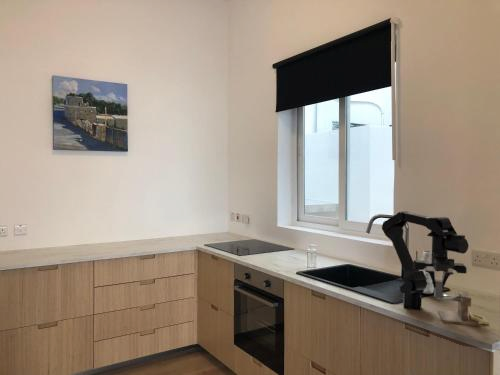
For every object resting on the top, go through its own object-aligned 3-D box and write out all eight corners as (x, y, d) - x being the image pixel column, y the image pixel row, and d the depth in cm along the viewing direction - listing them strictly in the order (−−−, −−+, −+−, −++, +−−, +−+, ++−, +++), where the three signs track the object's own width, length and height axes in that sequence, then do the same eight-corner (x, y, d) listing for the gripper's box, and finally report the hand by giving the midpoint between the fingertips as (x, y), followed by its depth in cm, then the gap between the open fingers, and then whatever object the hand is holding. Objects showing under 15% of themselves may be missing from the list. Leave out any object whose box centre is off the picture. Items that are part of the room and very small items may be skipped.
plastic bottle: (434, 296, 190) (435, 253, 190) (418, 294, 193) (419, 252, 192) (433, 292, 196) (434, 251, 196) (418, 290, 199) (419, 249, 198)
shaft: (435, 300, 162) (435, 281, 161) (434, 297, 164) (434, 279, 164) (463, 302, 158) (464, 283, 158) (462, 300, 161) (462, 281, 161)
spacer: (471, 316, 156) (488, 322, 155) (468, 311, 162) (484, 317, 160) (470, 318, 157) (487, 324, 155) (467, 313, 162) (483, 319, 161)
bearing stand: (442, 322, 157) (443, 296, 156) (438, 312, 168) (438, 288, 168) (480, 326, 153) (481, 300, 153) (473, 316, 164) (474, 291, 164)
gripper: (415, 250, 157) (414, 291, 158) (470, 254, 151) (468, 296, 152) (413, 246, 168) (412, 283, 168) (464, 249, 162) (463, 288, 163)
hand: (438, 288), depth 162 cm, fingers closed on shaft, 2 cm apart
